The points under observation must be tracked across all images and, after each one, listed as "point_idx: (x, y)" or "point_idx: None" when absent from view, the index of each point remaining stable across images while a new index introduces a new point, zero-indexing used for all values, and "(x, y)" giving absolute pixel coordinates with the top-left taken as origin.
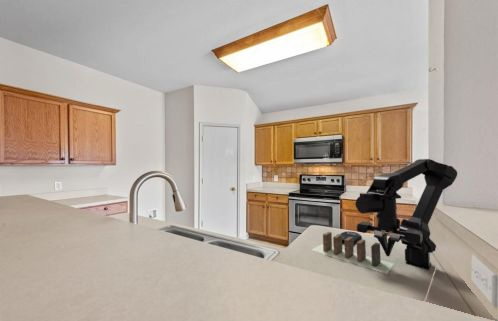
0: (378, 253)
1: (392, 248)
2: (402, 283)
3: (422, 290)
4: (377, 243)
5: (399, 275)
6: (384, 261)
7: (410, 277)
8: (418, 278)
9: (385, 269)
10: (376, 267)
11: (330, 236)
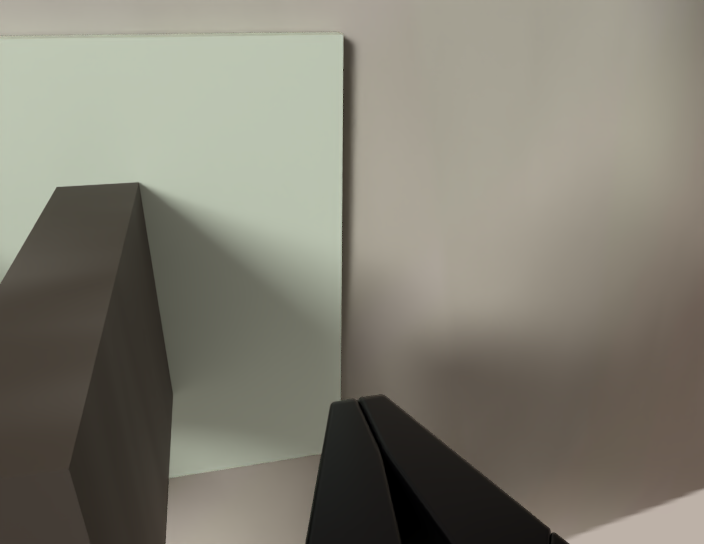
0: (139, 413)
1: (509, 501)
2: (488, 470)
3: (629, 450)
4: (9, 534)
5: (449, 343)
6: (171, 78)
7: (555, 298)
8: (630, 255)
9: (293, 367)
10: (180, 403)
11: None
